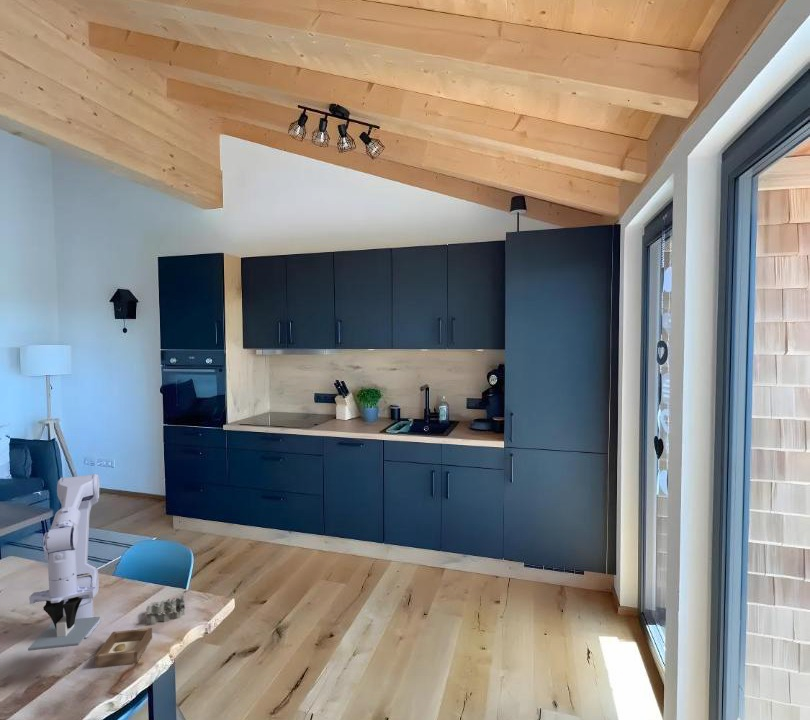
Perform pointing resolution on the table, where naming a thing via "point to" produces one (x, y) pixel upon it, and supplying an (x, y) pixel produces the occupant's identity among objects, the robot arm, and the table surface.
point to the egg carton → (156, 608)
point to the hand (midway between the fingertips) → (65, 626)
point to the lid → (64, 634)
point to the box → (123, 648)
